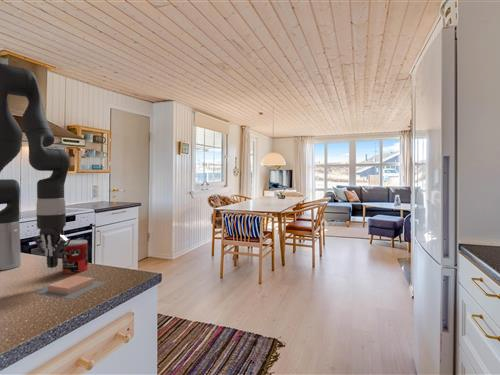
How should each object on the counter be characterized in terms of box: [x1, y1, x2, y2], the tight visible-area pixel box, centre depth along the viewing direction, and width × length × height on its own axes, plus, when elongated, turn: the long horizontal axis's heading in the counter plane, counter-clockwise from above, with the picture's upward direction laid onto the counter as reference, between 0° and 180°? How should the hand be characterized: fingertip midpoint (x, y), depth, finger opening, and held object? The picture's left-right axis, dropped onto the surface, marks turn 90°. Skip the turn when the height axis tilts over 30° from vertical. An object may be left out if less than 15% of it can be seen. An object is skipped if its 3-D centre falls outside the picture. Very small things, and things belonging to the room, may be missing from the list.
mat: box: [31, 280, 106, 300], centre depth 91 cm, size 15×13×1 cm
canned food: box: [61, 239, 89, 275], centre depth 107 cm, size 8×8×11 cm
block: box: [47, 275, 95, 295], centre depth 90 cm, size 2×9×8 cm
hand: (52, 267), depth 93 cm, fingers closed
